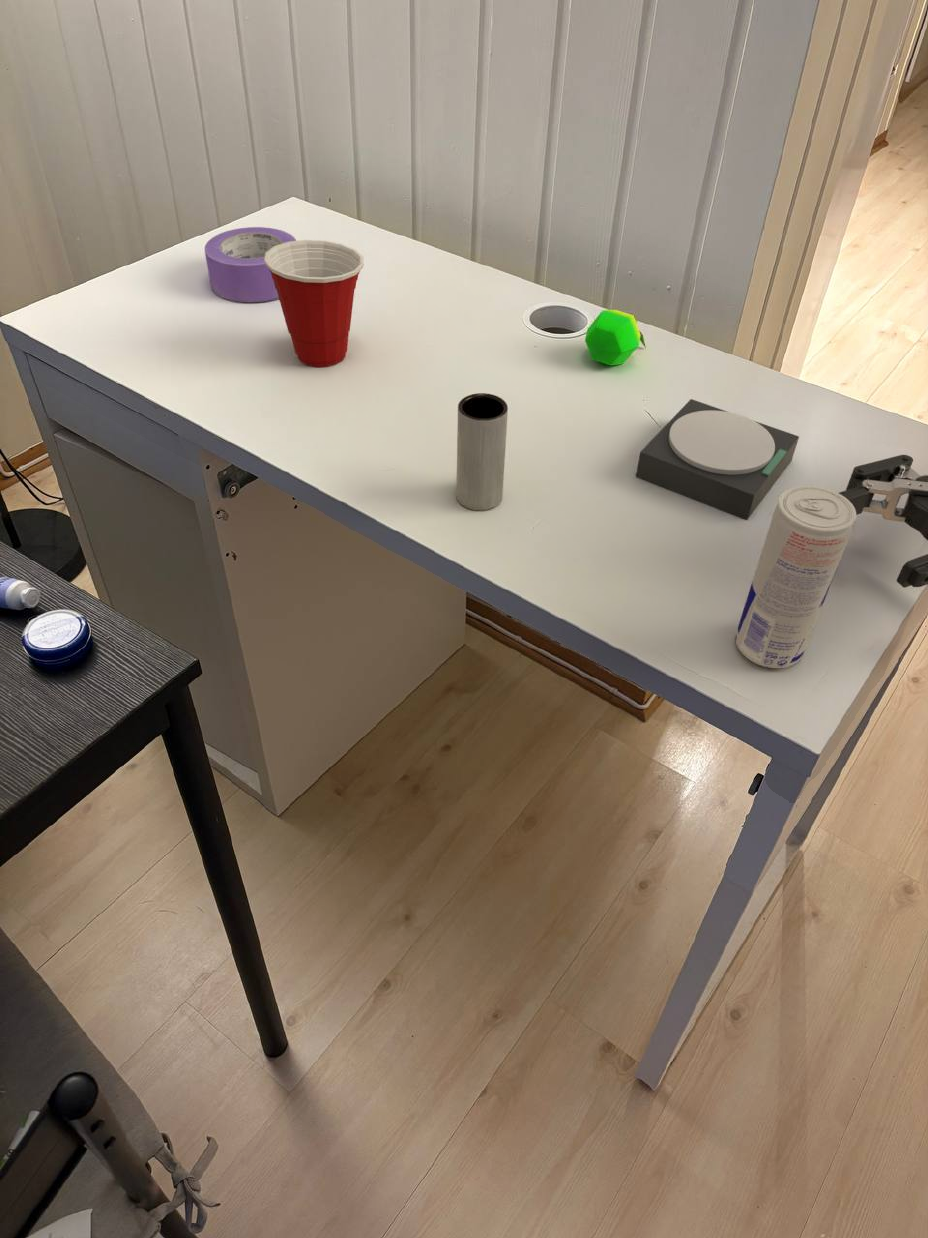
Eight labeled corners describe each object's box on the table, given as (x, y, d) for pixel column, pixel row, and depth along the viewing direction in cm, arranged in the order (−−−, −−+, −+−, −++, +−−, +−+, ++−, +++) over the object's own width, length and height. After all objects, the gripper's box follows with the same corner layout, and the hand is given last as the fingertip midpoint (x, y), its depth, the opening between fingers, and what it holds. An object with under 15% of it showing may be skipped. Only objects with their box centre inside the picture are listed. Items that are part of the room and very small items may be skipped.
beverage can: (816, 661, 79) (874, 519, 68) (758, 680, 77) (809, 537, 67) (776, 617, 82) (826, 475, 72) (721, 633, 81) (763, 491, 70)
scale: (791, 460, 99) (801, 431, 96) (747, 520, 92) (755, 490, 89) (685, 422, 104) (692, 393, 101) (635, 476, 97) (640, 446, 94)
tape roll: (210, 265, 128) (204, 227, 125) (298, 259, 130) (294, 223, 126) (210, 306, 120) (203, 267, 117) (304, 300, 122) (300, 262, 118)
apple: (606, 313, 105) (641, 281, 111) (564, 335, 110) (600, 304, 115) (637, 368, 107) (670, 335, 113) (595, 388, 112) (629, 355, 118)
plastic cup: (387, 358, 112) (383, 259, 103) (310, 388, 107) (299, 286, 98) (335, 322, 118) (327, 225, 109) (259, 350, 113) (245, 250, 104)
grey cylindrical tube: (502, 511, 92) (508, 420, 85) (455, 510, 92) (457, 419, 85) (502, 483, 95) (507, 393, 88) (456, 482, 95) (458, 391, 88)
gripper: (964, 411, 83) (817, 455, 78) (1105, 504, 74) (949, 561, 69) (932, 481, 88) (793, 527, 83) (1060, 576, 79) (912, 634, 74)
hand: (864, 542), depth 76 cm, fingers open, 8 cm apart
